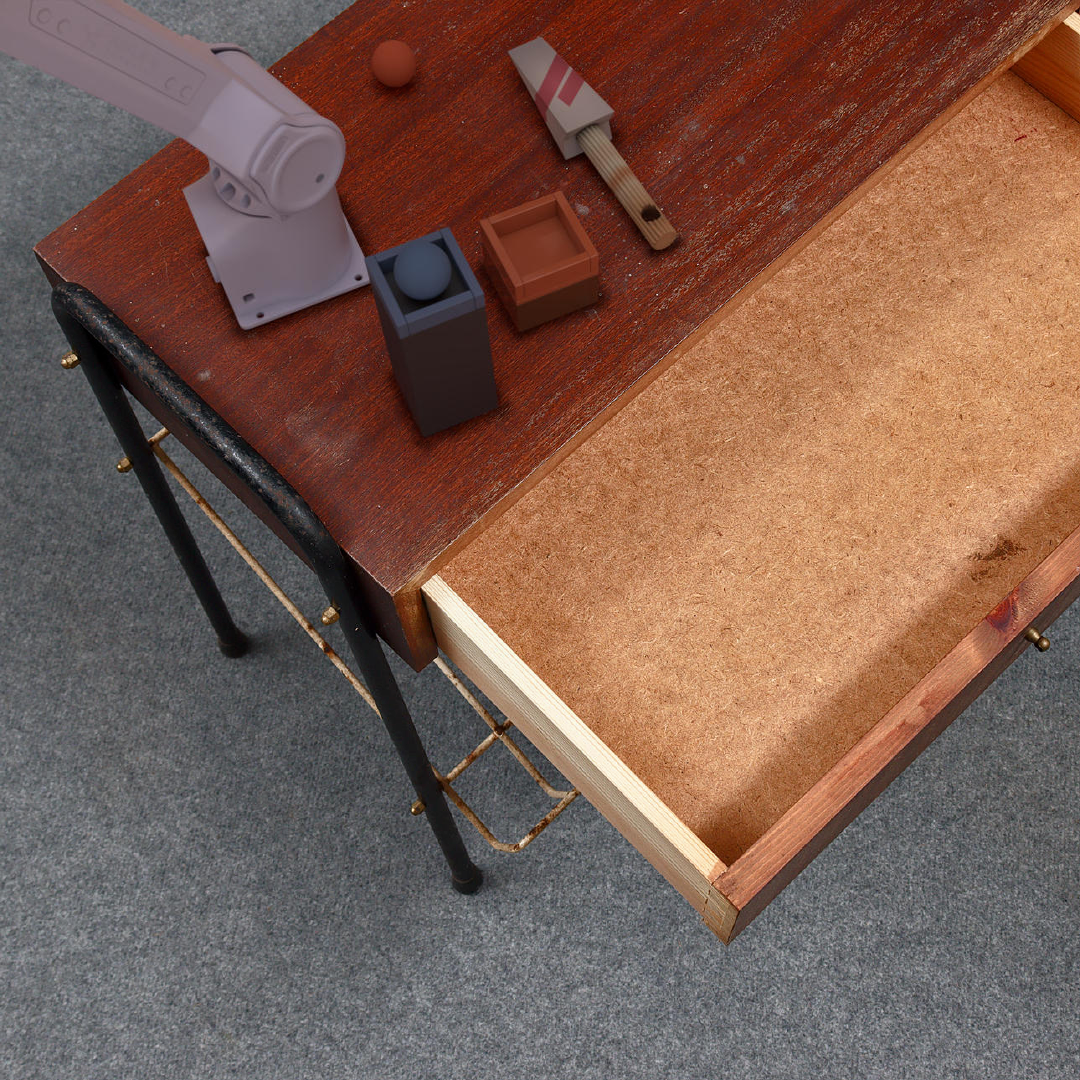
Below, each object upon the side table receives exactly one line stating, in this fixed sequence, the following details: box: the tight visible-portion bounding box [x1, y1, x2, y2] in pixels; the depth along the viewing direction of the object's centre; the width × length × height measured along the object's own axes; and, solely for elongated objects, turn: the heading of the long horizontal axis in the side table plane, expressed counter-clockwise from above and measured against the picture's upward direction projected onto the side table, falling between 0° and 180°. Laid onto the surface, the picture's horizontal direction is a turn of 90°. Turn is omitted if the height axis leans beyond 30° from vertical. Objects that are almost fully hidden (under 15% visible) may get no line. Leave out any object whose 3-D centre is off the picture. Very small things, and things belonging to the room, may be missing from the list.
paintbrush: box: [507, 36, 678, 251], centre depth 89 cm, size 4×3×20 cm
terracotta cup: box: [478, 190, 600, 333], centre depth 83 cm, size 6×6×5 cm
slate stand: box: [364, 226, 499, 439], centre depth 76 cm, size 5×5×12 cm
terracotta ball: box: [371, 39, 417, 88], centre depth 92 cm, size 3×3×3 cm
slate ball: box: [394, 242, 451, 300], centre depth 70 cm, size 3×3×3 cm
